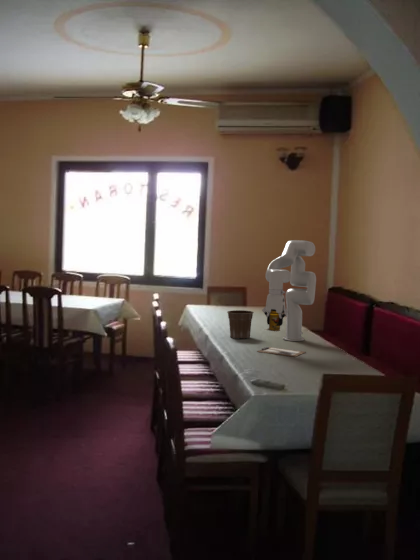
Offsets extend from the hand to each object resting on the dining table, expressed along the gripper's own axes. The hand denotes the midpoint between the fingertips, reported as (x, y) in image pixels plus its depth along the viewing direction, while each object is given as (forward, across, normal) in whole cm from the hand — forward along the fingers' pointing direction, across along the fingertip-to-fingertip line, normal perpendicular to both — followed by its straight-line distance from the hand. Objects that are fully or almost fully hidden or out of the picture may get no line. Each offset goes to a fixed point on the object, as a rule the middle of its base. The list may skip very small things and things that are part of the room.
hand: (274, 324), depth 316 cm
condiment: (+3, +1, 0) cm, 3 cm away
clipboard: (+14, -6, +3) cm, 16 cm away
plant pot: (+14, +34, -23) cm, 44 cm away
